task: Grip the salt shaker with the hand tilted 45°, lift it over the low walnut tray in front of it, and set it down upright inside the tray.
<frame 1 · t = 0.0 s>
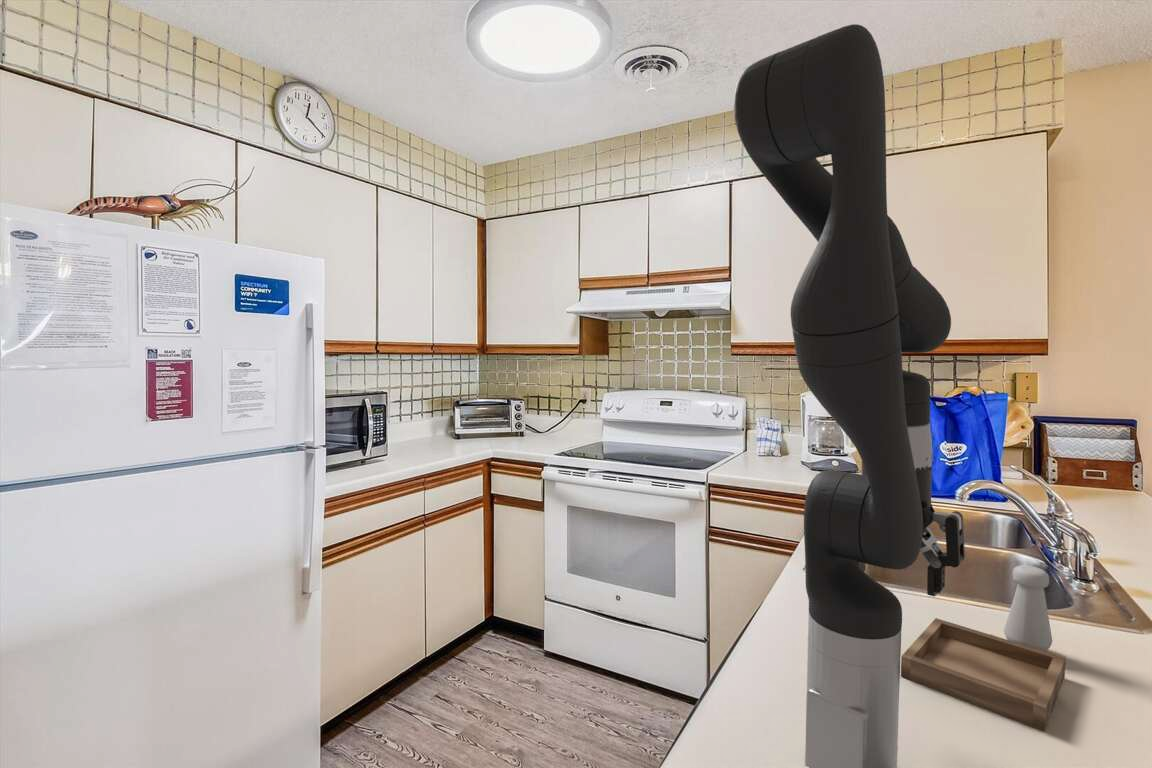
hand: (894, 582, 72), 17 cm above the worktop, tool pointing down, fingers open, 8 cm apart
salt shaker: (1026, 652, 88), on the worktop
walnut tray: (982, 677, 81), on the worktop
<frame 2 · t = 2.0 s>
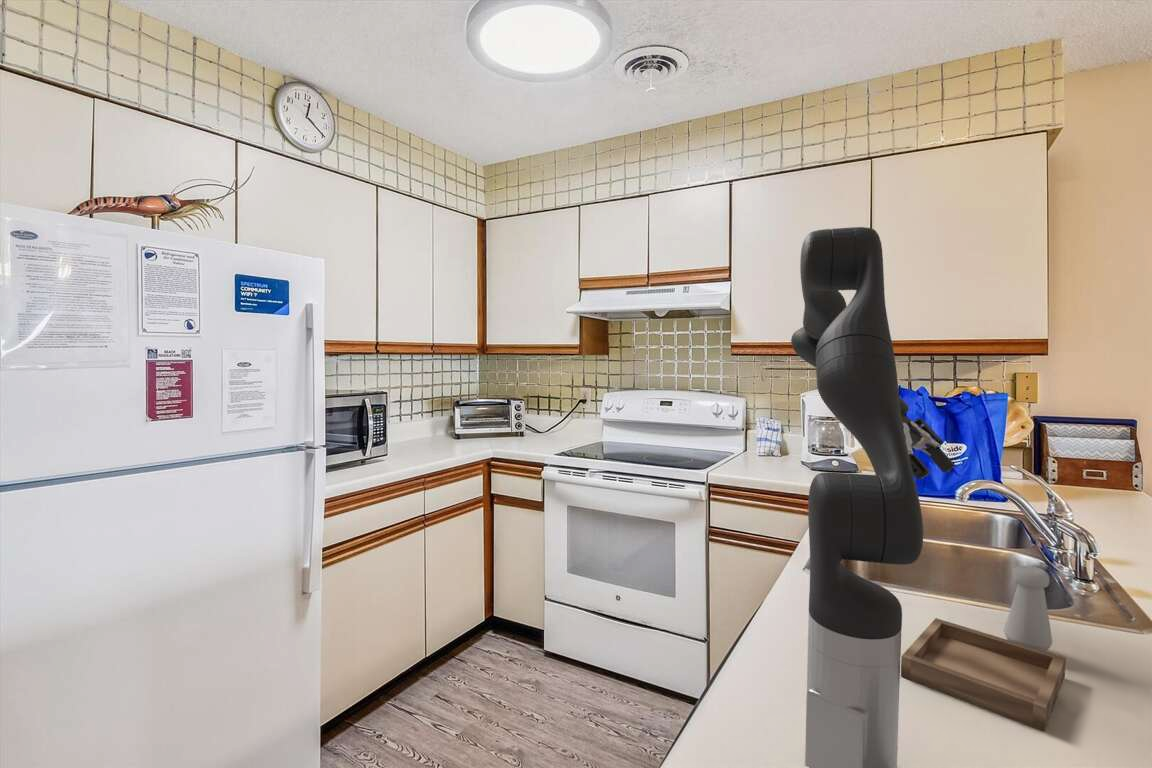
hand: (937, 473, 98), 25 cm above the worktop, tool tilted 45°, fingers open, 8 cm apart
nothing on the worktop moved.
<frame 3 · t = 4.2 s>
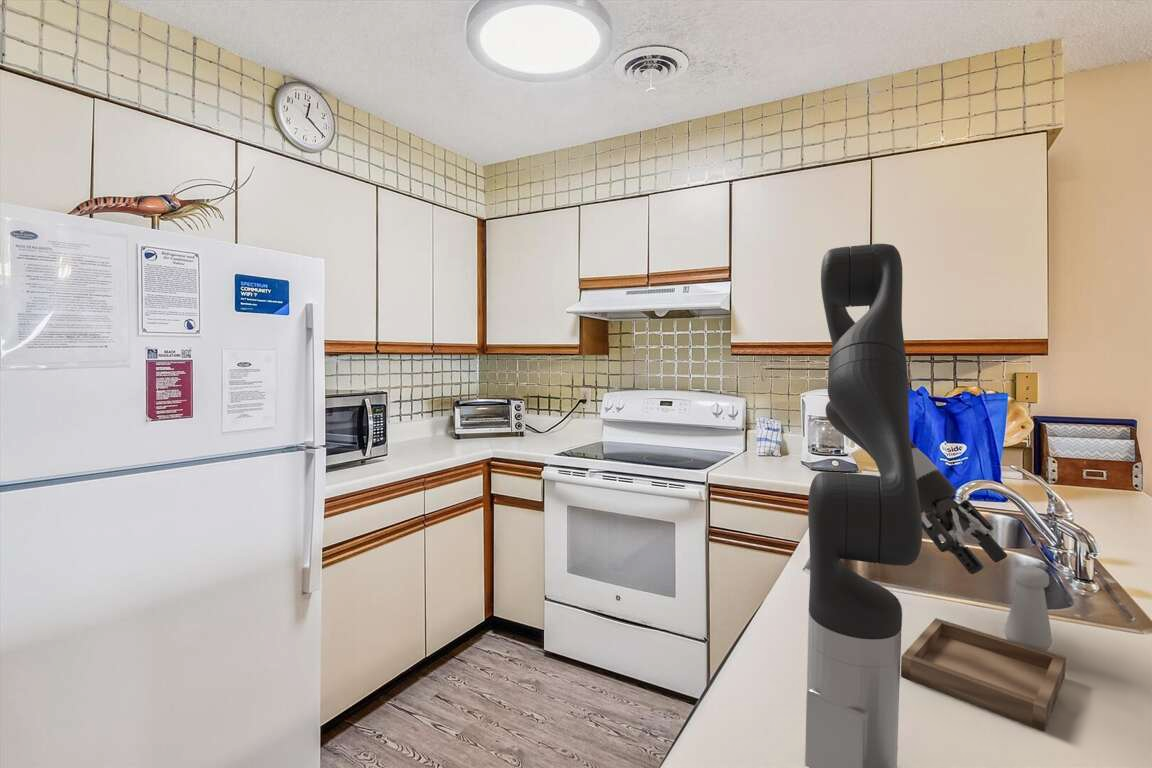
hand: (990, 565, 91), 12 cm above the worktop, tool tilted 45°, fingers open, 8 cm apart
nothing on the worktop moved.
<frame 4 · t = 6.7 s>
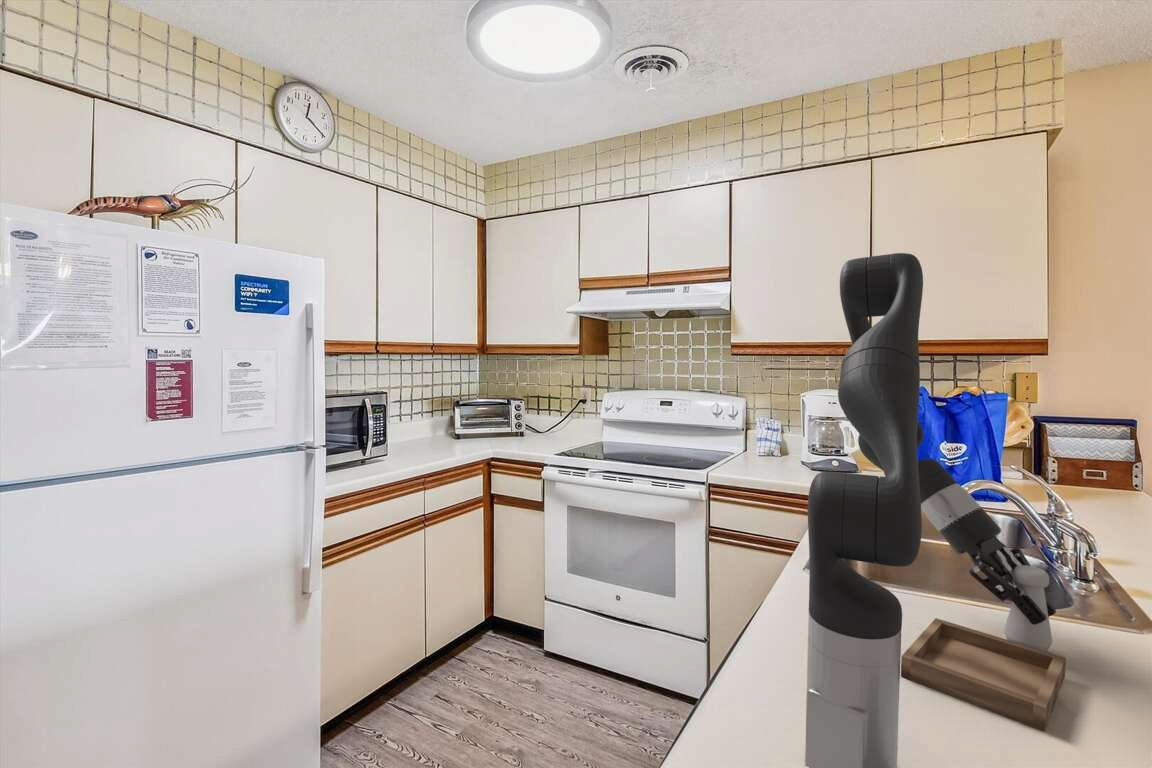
hand: (1045, 618, 86), 6 cm above the worktop, tool tilted 45°, fingers closed on salt shaker, 3 cm apart
salt shaker: (1026, 652, 88), on the worktop, touching gripper
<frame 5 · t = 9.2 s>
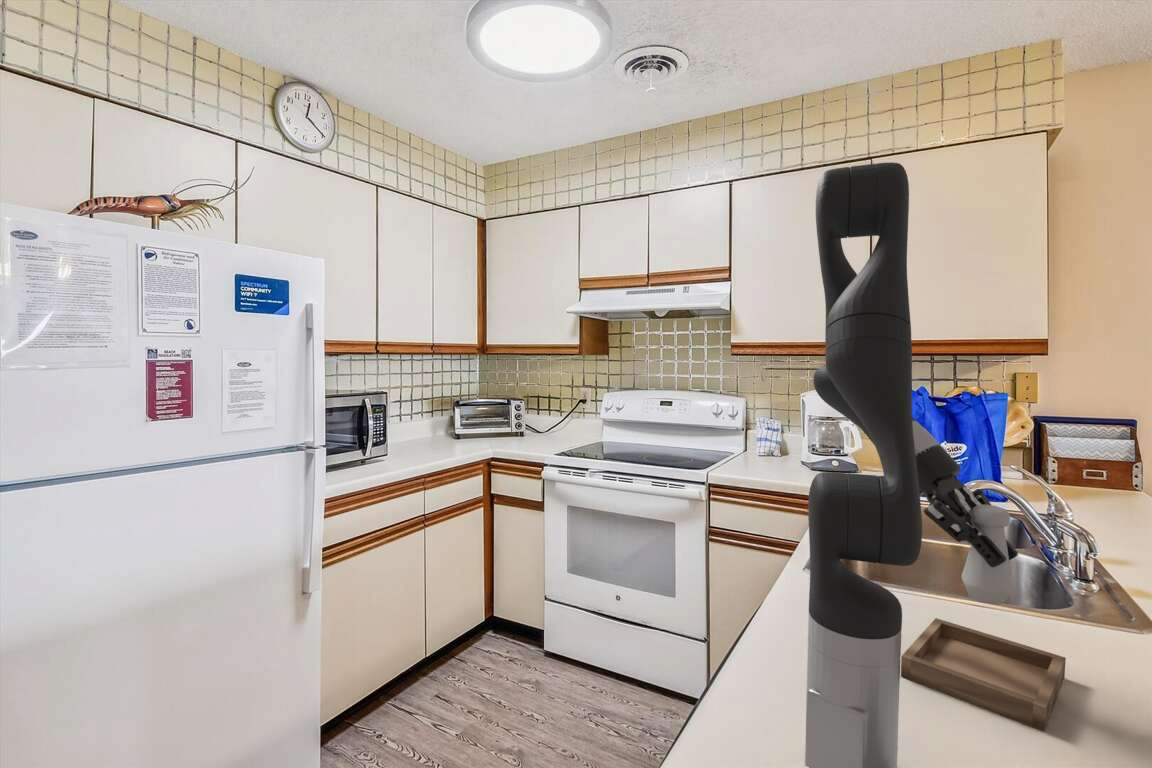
hand: (1005, 560, 78), 18 cm above the worktop, tool tilted 45°, fingers closed on salt shaker, 3 cm apart
salt shaker: (986, 599, 80), point 11 cm above the worktop, touching gripper
when the fingers open (8 cm above the worktop, at t = 11.8 s): salt shaker drops 1 cm, resting on walnut tray.
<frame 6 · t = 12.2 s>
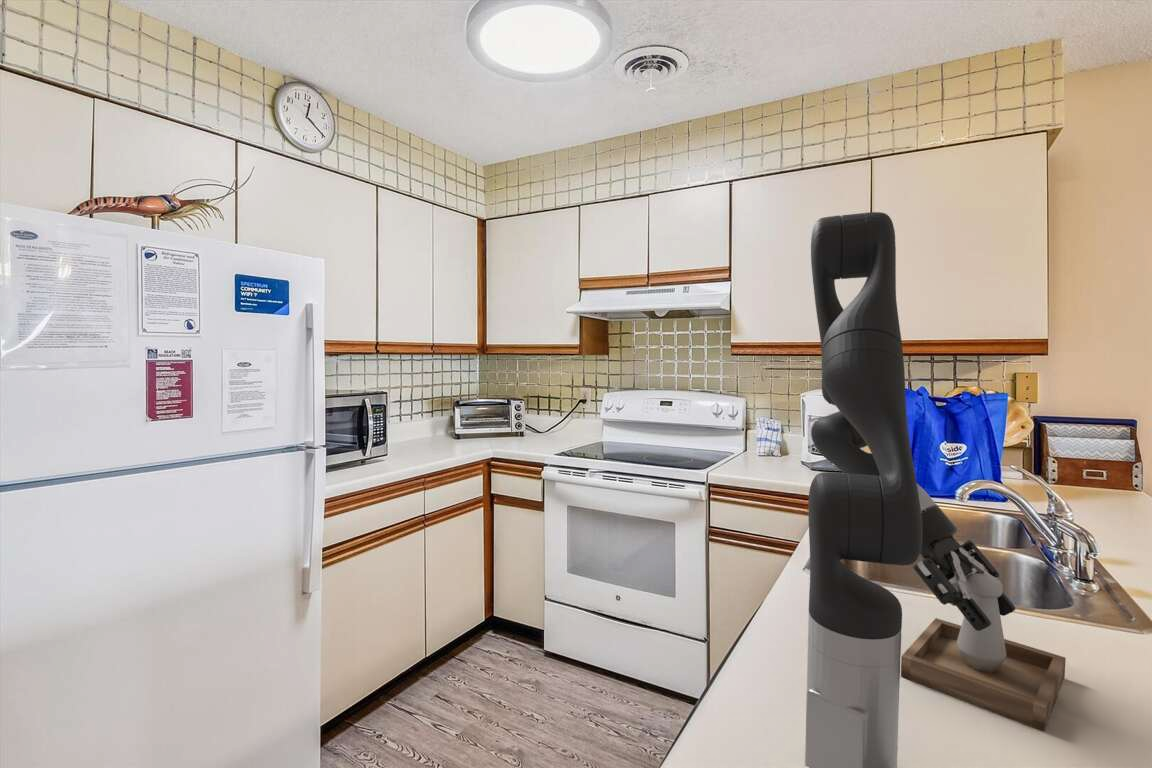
hand: (997, 620, 79), 9 cm above the worktop, tool tilted 45°, fingers open, 7 cm apart
salt shaker: (980, 665, 82), point 1 cm above the worktop, touching walnut tray
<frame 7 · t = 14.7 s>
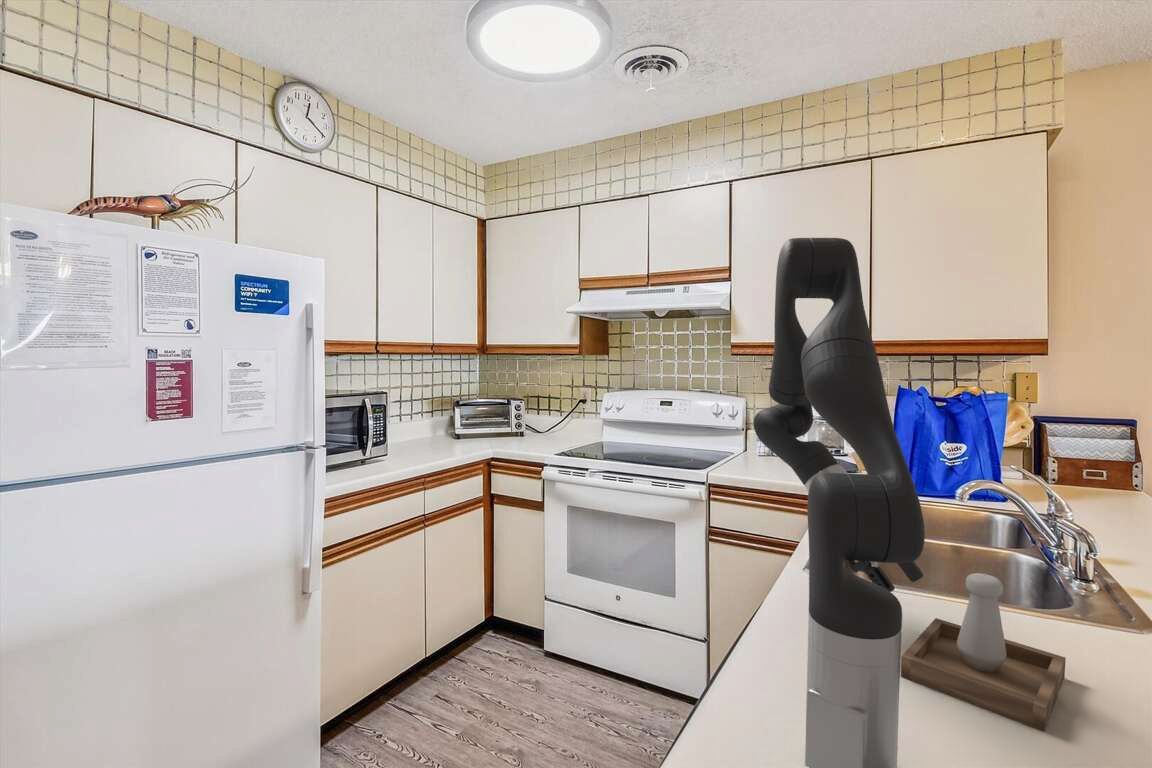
hand: (904, 585, 90), 9 cm above the worktop, tool tilted 45°, fingers open, 8 cm apart
nothing on the worktop moved.
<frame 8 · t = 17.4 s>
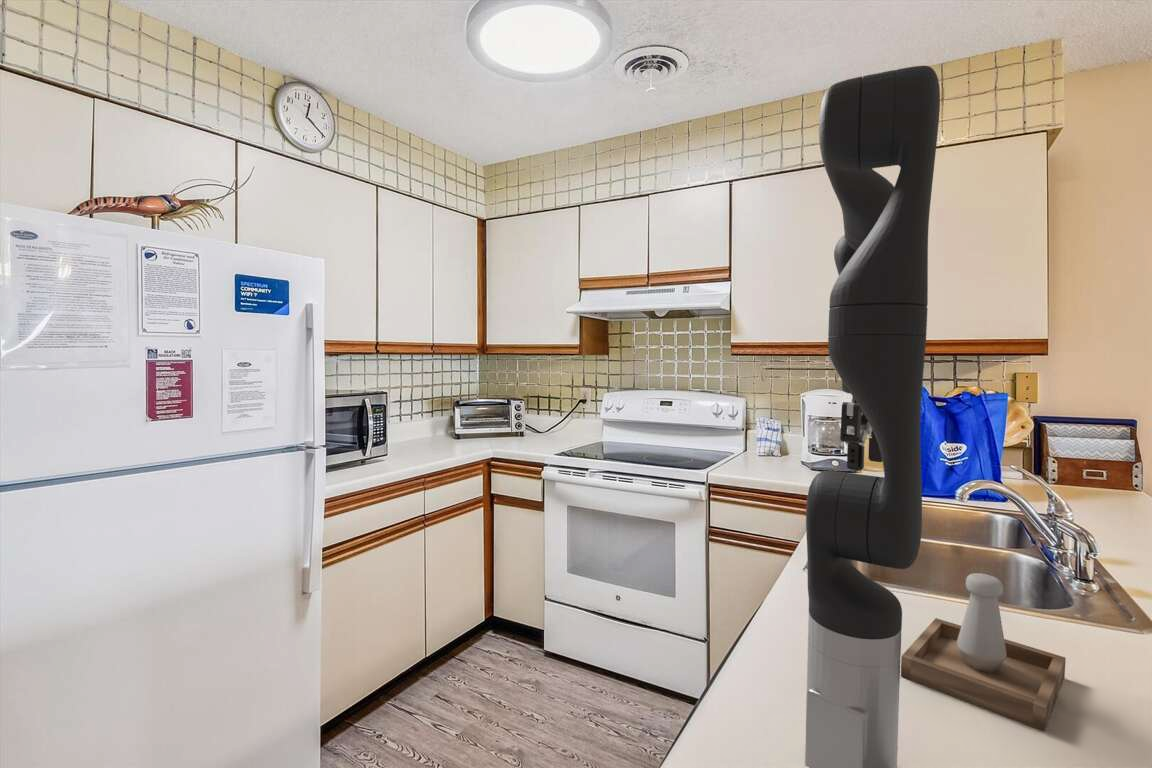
hand: (866, 465, 90), 28 cm above the worktop, tool pointing down, fingers open, 8 cm apart
nothing on the worktop moved.
at the end: salt shaker inside the target area on the walnut tray (1.6 cm from its centre), point 0.8 cm above the walnut tray's base; salt shaker tilted 0°; the gripper is holding nothing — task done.
